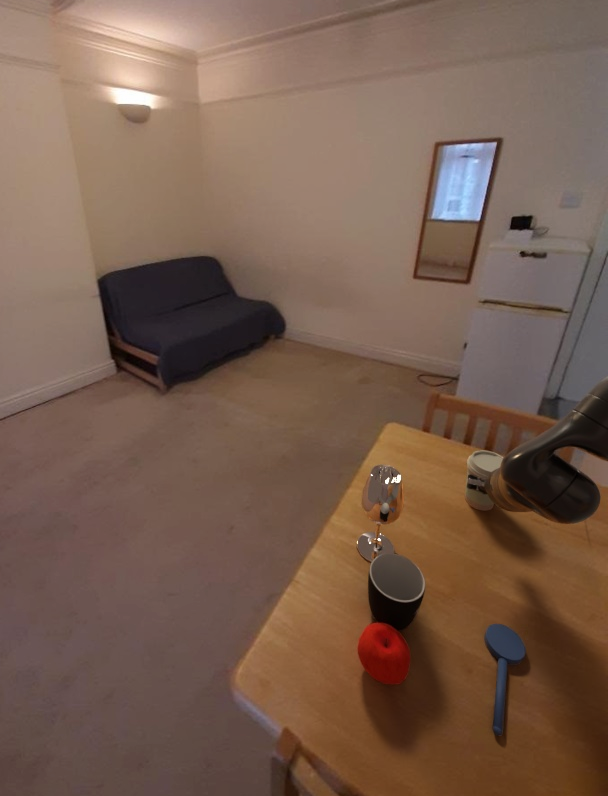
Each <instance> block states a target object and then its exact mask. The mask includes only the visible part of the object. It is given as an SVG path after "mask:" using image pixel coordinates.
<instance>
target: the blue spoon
mask: <svg viewBox="0 0 608 796" xmlns="http://www.w3.org/2000/svg"><path fill="white" fill-rule="evenodd" d="M483 637H484V643H485V646H486V648H487V650H488V651H489V653H490V654H491V655H492V656H493V657H494V658H495V659H497V660H498V662H497V673H496V685H495V695H494V707H493V708H494V709H493V718H492V731H493V733H494V734H495V735H496V736H497V737H499V736H500V737H501V736H503V732H504V721H505V720H504V718H505V705H506V703H505V702H506V690H507V689H506V688H507V675H508V674H507V673H508V665H509V666H517V665H520V664H521V663H522V662H523V660H524V658H525V656H526V653H527V652H526V646H525V643H524V641H523V639H522V638H521V636H520V635H519V634H518V633H517V632H516V631H515V630H513V628H510V627H509V626H507V625H505V624H502V623H492V624H490V625H488V626H487V628H486V631H485V633H484V636H483Z"/></svg>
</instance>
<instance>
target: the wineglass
mask: <svg viewBox="0 0 608 796" xmlns="http://www.w3.org/2000/svg"><path fill="white" fill-rule="evenodd" d="M402 478H403V477H402V474H401V472H400V471H399V470H398V469H397V468H395V467H393V466H391V465H388V464H377V465H374V466H373V467H372V468H371V469H370V472H369V474H368V476H367V478H366V480H365V484H364V486H363V488H362V492H361V497H360V498H361V499H360V500H361V502H360V503H361V504H360V505H361V508H362V511H363V513H364V514H365V516H366V517H367V518H368V519H369V520H370V521H371V522H373V523H375V524H376V528H375V531H367V532H364V533H361V534H360V536H359V537H358V538H357V540H356V548H357V550H358V553H359V554H360V556H361V557H363V558H364V559H365V560H367V561H368V562H370V563H372V561H373V560H374V559H375V558H376V557H377V556H379V555H381V554H385V553H396V552H395V547H394V544H393V542H392V541H391V540H390V539H389V538H388V537H387V536H386V535H384V534H382V533H380V532H381V526H382V525H383V526H385V525H391V524H393V523H395V522H396V521H398V520H399V519H400V517H401V515H402V514H403V510H404V502H405V498H404V497H405V495H404V486H403V479H402Z"/></svg>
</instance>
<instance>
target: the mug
mask: <svg viewBox="0 0 608 796" xmlns="http://www.w3.org/2000/svg"><path fill="white" fill-rule="evenodd" d="M367 576H368V579H367V597H368V604H369V610H370V612H371V615H372V617H373V619H374V620H375V621H376V623H386V624H388V625H391V626H392V627H393V628H395V629H396V630H397V631H399V632H402V631H404V630H406V629H407V628H408V627H410V626H411V625H412V623H413V622H414V620H415V618H416V617H417V615H418V613H419V610H420V607H421V605H422V602H423V599H424V596H425V592H426V579H425V576H424V574H423V572H422V570H421V569H420V568H419V566H418V565H417V564H416V563H415V562H413V561H412V560H411V559H409V558H408V557H406V556H404V555H401V554H399V553H397V552H395V553H385V554H381V555H379V556H377V557H376V558H375V559H374V560H373V561H372V562H370V565H369V568H368V575H367Z"/></svg>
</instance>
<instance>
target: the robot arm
mask: <svg viewBox="0 0 608 796" xmlns="http://www.w3.org/2000/svg"><path fill="white" fill-rule="evenodd" d="M565 448H572V449H577V450H579V451H582V452H583V453H586V454H588V455H590V456H592V457H594V458H597V459H600V460H601V461H603V462H604V461H605V462H608V376H605V378H603V379H602V380H600V381H599V382H598V383H597V384H596V385H595V386H593V387H592V388H591V389H590V390H589V391H588V392H587V393H586V395H584V397H583V398H582V399H580V401H579V402H577V404H576V405H575V406H574V407H573V408H572V409H571V410H570V411H569V412H568V413H567V414H566V415H564V416H563V418H562V419H560V420H559V421H558V422H556V423H555V424H554V425H552V426H551V427H549V428H548V429H546V430H545V431H544V432H542V433H540V434H539V435H536V436H535V437H533V438H531V439H529V440H527V441H526V442H524V443H521V444H520V445H518V446H516V447H514V448H513V449H512V450H510V451H509V452H508V453H507V454H506V455H505V456H504V457H503V460H502V462H501V465H500V468H498V469H495V470H494V471H492V472H491V473H490V474H489V476H488V477H487V478H482V479H481V478H479V477H476V476H473V475H471V474H470V475H468V479H467V478H466V480H467V488H468V489H472V490H475V491H477V492H480V493H483V494H484V495H485V494H488V496H489V498H490V499H491V500H492V502H493V503H494V505H496V506H497V507H498V508H499V509H502V510H504V511H505V512H510V513H531V512H534V513H535V514H537V515H538V516H540V517H542V518H544V519H546V520H548V521H550V522H552V523H556V524H560V525H573V524H579V523H581V522H583V521H585V520H587V519H589V518H590V517H592V516H593V515H594V514H595V513H596V512H597V510H598V509H599V507H600V503H601V493H600V489H599V487H598V485H597V483H596V482H595V481H594V480H593V479H592V478H591V477H590V476H588V475H587V474H585V473H584V472H583V471H582V470H580V469H578V468H577V467H575V466H574V465H573V464H572V463H570V462H569V461H567V460H566V459H564V458H562V457H561V456H560V455H558V454H557V453H556V452H557V451H558V450H561V449H565Z"/></svg>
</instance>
